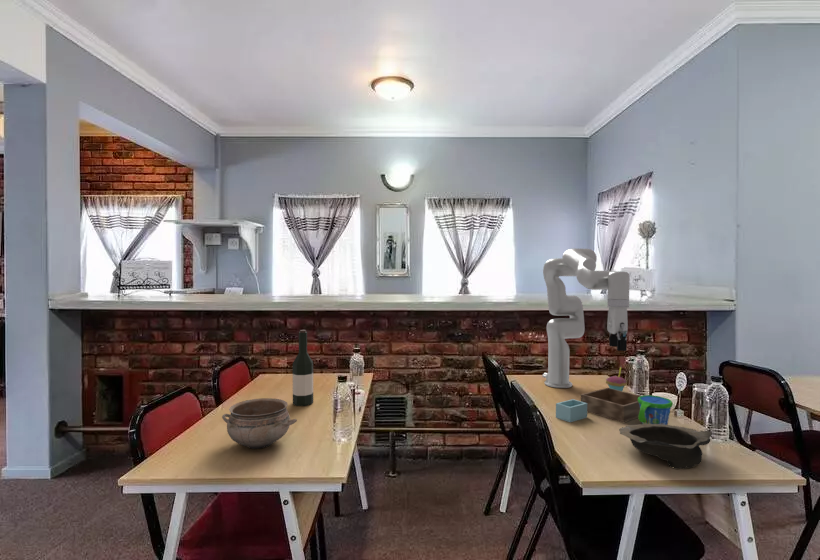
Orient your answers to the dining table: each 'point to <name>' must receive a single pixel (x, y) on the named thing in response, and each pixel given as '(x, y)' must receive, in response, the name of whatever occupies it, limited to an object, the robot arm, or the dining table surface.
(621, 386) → the cupcake
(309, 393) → the wine bottle
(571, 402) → the small crate
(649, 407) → the snack cup
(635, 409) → the big crate
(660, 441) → the stone bowl
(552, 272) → the robot arm
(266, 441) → the cooking pot
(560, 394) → the dining table surface
